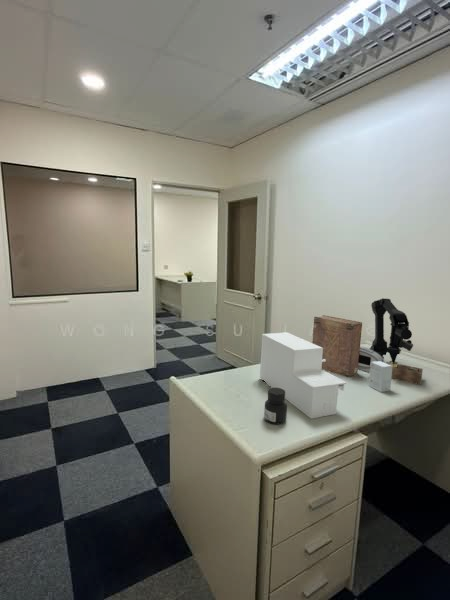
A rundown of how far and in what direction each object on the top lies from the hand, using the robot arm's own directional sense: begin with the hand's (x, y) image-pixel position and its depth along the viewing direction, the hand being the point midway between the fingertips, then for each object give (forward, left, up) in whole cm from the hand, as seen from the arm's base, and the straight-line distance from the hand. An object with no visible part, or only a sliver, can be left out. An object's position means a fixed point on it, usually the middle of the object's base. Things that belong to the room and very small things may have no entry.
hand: (393, 362), depth 179 cm
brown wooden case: (-30, -10, -8) cm, 33 cm away
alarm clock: (-17, +2, -8) cm, 19 cm away
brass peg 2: (+10, 0, -8) cm, 13 cm away
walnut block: (+5, 0, -8) cm, 9 cm away
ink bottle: (-32, -85, -8) cm, 91 cm away
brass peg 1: (0, 0, -6) cm, 6 cm away
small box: (-3, -24, -8) cm, 26 cm away
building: (-34, -56, -8) cm, 66 cm away
